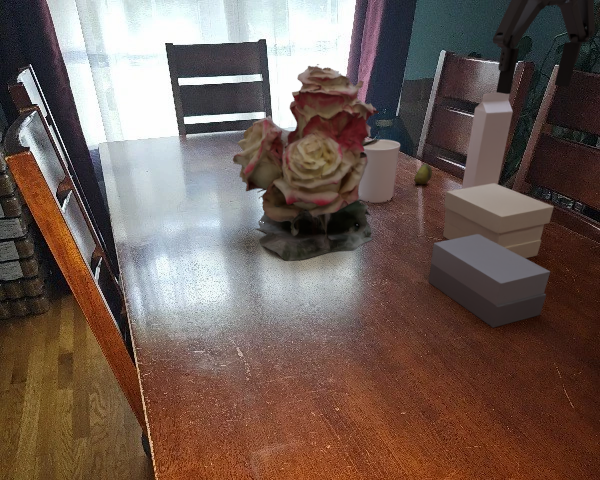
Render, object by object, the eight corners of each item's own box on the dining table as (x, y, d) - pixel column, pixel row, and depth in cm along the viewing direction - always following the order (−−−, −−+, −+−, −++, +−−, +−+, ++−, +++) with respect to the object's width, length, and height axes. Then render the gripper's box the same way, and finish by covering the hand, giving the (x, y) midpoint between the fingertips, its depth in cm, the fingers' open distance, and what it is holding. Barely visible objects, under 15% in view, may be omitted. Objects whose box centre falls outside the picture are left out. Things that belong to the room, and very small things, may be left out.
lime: (413, 186, 131) (416, 166, 128) (412, 181, 134) (415, 161, 131) (431, 187, 130) (434, 166, 127) (430, 181, 134) (432, 161, 131)
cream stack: (537, 255, 96) (546, 223, 92) (494, 265, 93) (501, 233, 89) (481, 227, 108) (487, 198, 104) (441, 235, 105) (446, 206, 101)
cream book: (549, 223, 92) (554, 206, 90) (498, 234, 89) (501, 216, 87) (491, 198, 104) (494, 182, 102) (444, 207, 101) (446, 191, 99)
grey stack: (540, 314, 79) (553, 272, 74) (492, 327, 76) (503, 284, 72) (470, 272, 91) (478, 233, 87) (428, 282, 89) (433, 243, 84)
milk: (460, 196, 124) (476, 91, 110) (483, 194, 125) (503, 89, 111) (470, 203, 119) (489, 95, 106) (494, 201, 120) (516, 93, 106)
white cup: (391, 205, 120) (396, 150, 112) (351, 202, 123) (353, 148, 115) (399, 193, 127) (403, 140, 120) (360, 190, 130) (363, 138, 122)
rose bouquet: (236, 222, 114) (219, 62, 95) (361, 209, 118) (368, 54, 100) (251, 269, 95) (233, 80, 76) (400, 252, 99) (419, 69, 80)
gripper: (606, -69, 85) (568, 80, 98) (487, -69, 77) (463, 93, 90) (647, -74, 79) (601, 85, 93) (522, -74, 72) (492, 99, 85)
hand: (533, 89), depth 92 cm, fingers open, 13 cm apart
